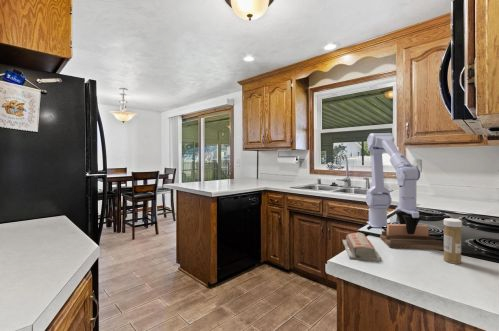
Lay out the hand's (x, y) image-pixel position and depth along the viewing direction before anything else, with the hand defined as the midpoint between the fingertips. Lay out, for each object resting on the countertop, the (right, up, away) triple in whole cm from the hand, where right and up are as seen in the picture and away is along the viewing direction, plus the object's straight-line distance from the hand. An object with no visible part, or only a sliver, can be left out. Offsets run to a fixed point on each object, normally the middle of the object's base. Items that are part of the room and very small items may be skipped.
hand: (407, 231), depth 100 cm
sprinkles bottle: (+3, -5, -18) cm, 19 cm away
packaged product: (-22, -5, -7) cm, 24 cm away
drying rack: (0, -4, -2) cm, 5 cm away
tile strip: (0, -2, 0) cm, 2 cm away
